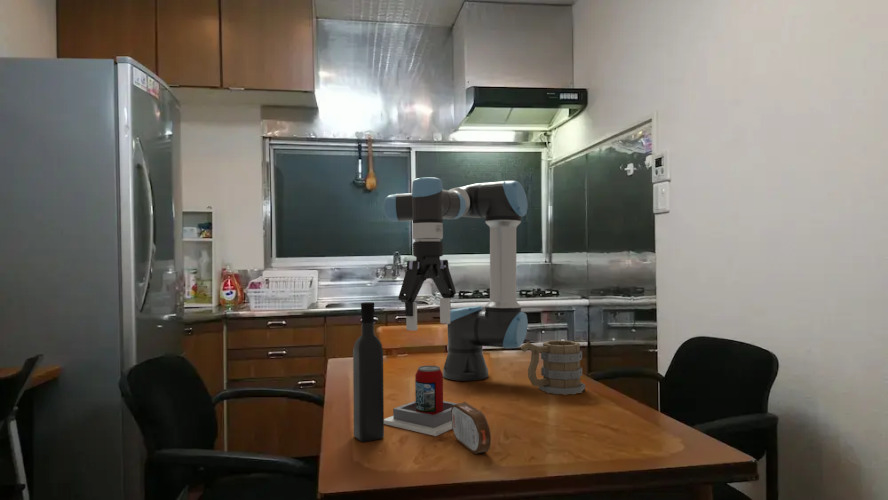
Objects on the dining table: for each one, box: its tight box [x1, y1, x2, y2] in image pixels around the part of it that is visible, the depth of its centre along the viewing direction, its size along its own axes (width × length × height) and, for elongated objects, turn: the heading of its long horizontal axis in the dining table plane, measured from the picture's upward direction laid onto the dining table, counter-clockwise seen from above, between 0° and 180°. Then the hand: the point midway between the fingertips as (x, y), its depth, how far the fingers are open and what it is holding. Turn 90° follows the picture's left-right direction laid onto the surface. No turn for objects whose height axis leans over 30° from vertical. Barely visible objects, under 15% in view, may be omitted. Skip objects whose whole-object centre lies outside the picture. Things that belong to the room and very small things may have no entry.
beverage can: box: [414, 365, 444, 415], centre depth 131 cm, size 7×7×12 cm
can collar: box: [384, 400, 458, 437], centre depth 131 cm, size 16×16×4 cm
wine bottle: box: [352, 301, 385, 443], centre depth 120 cm, size 6×6×30 cm
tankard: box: [520, 340, 586, 396], centre depth 159 cm, size 20×13×15 cm, turn 108°
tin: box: [451, 401, 492, 455], centre depth 113 cm, size 15×3×8 cm, turn 22°
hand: (429, 326), depth 132 cm, fingers open, 13 cm apart
